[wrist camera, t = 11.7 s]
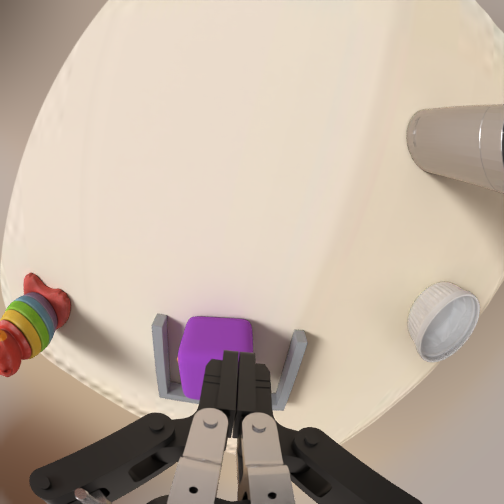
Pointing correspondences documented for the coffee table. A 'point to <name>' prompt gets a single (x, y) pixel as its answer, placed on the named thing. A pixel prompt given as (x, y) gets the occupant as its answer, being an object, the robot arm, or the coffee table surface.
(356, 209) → the coffee table surface
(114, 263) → the coffee table surface
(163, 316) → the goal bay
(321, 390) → the coffee table surface
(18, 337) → the stacking bear
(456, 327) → the ramekin
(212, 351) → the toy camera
